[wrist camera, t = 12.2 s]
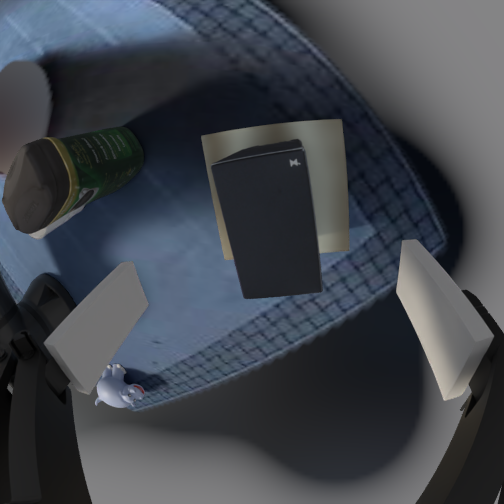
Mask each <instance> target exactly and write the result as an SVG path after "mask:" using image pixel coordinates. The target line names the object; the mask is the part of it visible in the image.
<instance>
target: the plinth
mask: <svg viewBox="0 0 504 504" xmlns="http://www.w3.org/2000/svg"><path fill="white" fill-rule="evenodd" d="M201 139H202V145H203V151H204V156H205V162H206V167H207V173H208V178H209V183H210V189H211V194H212V199H213V204H214V209H215V214H216V219H217V224H218V229H219V234H220V239H221V244H222V249H223V253H224V258H225V260H231V259H234V258H233V254H232V250H231V246H230V243H229V239H228V235H227V231H226V227H225V223H224V219H223V215H222V211H221V207H220V203H219V199H218V195H217V191H216V187H215V183H214V179H213V175H212V171H211V164H212V163H215V162H217V161H219V160H221V159H223V158H225V157H228V156H230V155H232V154H234V153H236V152H238V151H240V150H242V149H246V148H250V147H253V146H257V145H259V146H261V145H266V144H274V143H279V142H284V141H290V140H293V139H299V140H300V141H302V145H303V147H304V149H305V151H306V157H307V163H308V168H309V174H310V181H311V187H312V195H313V202H314V210H315V217H316V225H317V233H318V243H319V253H326V252H339V251H349V205H348V184H347V169H346V156H345V145H344V136H343V127H342V119H330V120H313V121H300V122H289V123H280V124H271V125H263V126H256V127H249V128H242V129H236V130H230V131H224V132H219V133H213V134H208V135H203V136H201Z"/></svg>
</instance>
